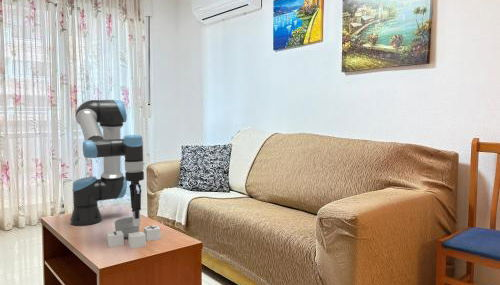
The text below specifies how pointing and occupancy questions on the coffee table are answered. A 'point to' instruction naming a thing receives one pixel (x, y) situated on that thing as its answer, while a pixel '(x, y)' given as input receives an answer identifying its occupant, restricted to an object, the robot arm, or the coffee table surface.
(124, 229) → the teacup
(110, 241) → the marked block bar
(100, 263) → the coffee table surface
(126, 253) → the coffee table surface
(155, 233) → the marked block cross
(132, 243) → the plain block
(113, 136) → the robot arm
